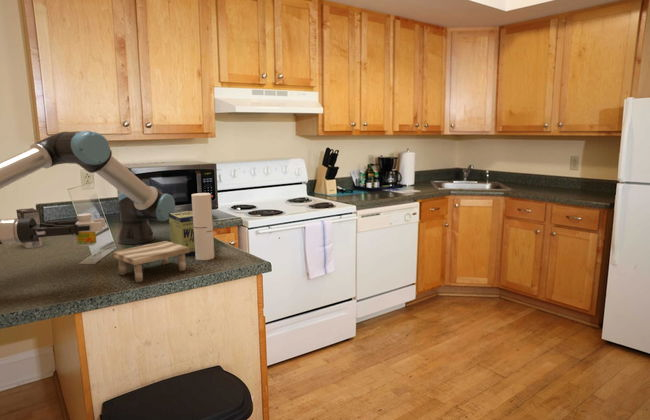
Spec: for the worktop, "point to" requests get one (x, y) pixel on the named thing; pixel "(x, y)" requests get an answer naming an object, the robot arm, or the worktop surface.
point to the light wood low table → (150, 256)
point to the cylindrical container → (203, 226)
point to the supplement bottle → (85, 237)
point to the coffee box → (35, 214)
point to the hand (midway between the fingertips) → (103, 224)
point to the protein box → (182, 230)
